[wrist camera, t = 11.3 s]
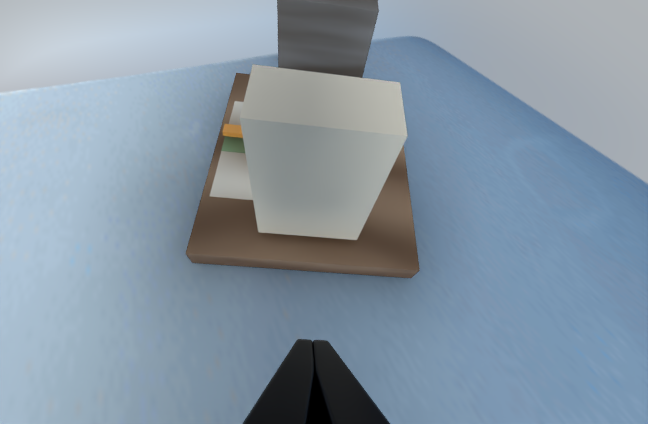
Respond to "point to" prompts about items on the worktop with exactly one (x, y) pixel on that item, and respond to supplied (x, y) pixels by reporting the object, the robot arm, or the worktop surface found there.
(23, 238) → the worktop surface
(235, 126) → the drag pointer
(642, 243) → the worktop surface
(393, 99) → the cream eraser-shaped block
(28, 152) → the worktop surface
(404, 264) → the board
